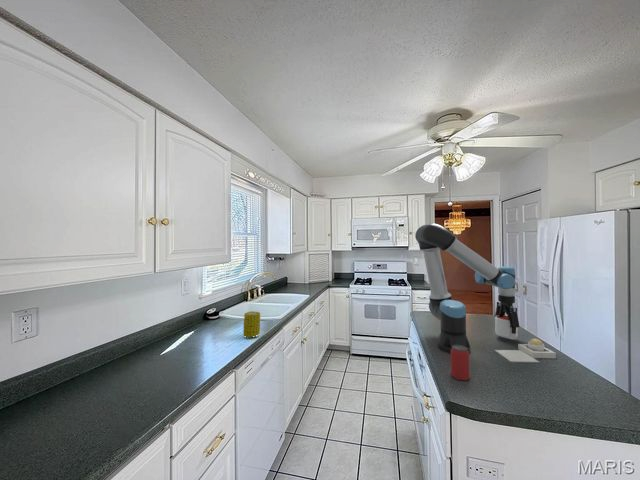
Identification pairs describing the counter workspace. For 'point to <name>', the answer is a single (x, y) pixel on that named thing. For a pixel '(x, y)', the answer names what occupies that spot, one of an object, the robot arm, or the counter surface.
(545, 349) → the dome base
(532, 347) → the dome
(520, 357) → the pad
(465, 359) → the beer can
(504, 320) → the cup
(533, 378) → the counter surface
